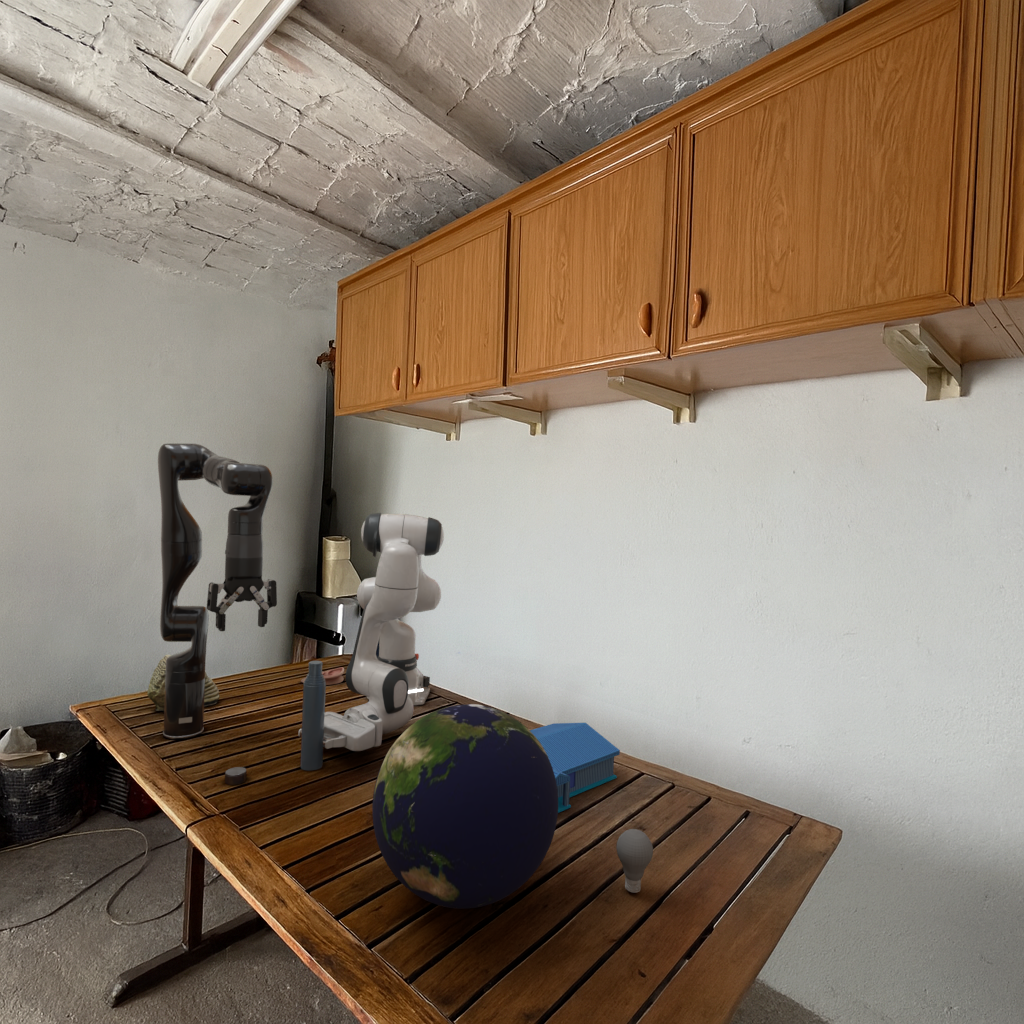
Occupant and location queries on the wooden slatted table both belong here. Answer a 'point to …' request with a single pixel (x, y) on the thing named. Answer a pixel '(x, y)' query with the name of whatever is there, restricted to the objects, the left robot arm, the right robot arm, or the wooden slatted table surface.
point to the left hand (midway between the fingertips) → (242, 628)
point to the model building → (576, 758)
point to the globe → (465, 806)
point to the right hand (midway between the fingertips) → (312, 739)
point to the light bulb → (634, 857)
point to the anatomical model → (332, 676)
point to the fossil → (158, 687)
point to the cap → (235, 776)
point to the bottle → (313, 718)
